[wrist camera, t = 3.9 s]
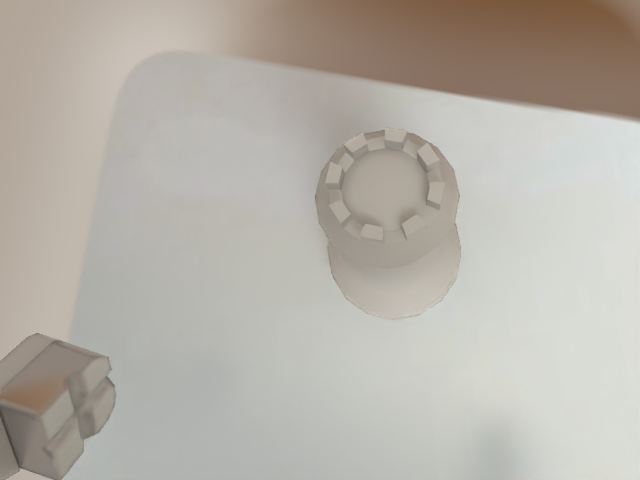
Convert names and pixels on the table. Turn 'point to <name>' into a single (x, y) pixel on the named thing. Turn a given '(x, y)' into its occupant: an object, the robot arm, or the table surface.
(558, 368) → the table surface
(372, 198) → the rook chess piece
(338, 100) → the table surface
